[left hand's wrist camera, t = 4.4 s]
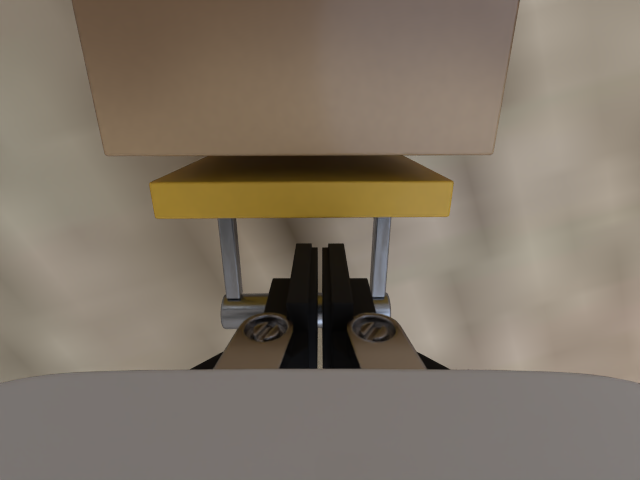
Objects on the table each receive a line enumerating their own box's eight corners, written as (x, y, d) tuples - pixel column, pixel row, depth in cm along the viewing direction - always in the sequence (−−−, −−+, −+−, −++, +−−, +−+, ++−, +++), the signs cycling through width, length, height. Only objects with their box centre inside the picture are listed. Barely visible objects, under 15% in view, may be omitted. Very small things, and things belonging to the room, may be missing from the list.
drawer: (391, 276, 20) (430, 358, 13) (223, 278, 20) (179, 362, 13) (446, -403, 11) (634, -1115, 5) (147, -412, 11) (-92, -1168, 4)
